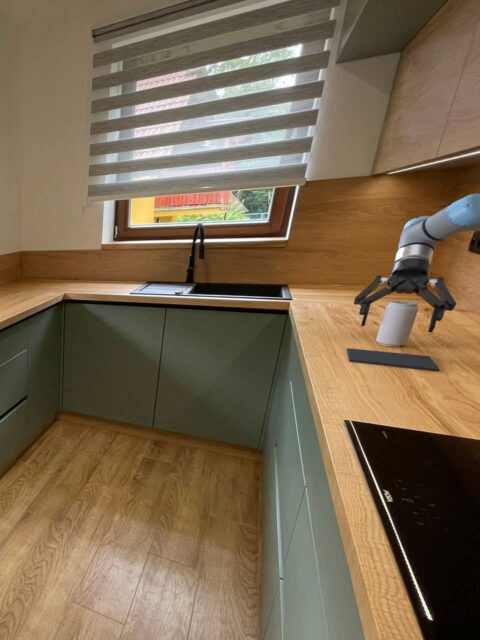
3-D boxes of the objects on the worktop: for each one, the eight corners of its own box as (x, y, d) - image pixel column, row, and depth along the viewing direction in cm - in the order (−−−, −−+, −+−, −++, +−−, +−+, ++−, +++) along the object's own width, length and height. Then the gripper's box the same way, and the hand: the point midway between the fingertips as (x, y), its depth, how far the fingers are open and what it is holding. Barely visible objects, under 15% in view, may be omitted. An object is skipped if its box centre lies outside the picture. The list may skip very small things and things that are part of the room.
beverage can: (400, 342, 122) (413, 300, 118) (410, 348, 117) (424, 304, 113) (371, 340, 125) (383, 299, 121) (380, 346, 119) (393, 303, 115)
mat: (428, 358, 108) (429, 356, 108) (439, 371, 100) (439, 369, 99) (346, 350, 118) (347, 348, 117) (349, 361, 109) (349, 359, 109)
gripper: (471, 275, 117) (458, 339, 112) (352, 272, 133) (336, 328, 128) (481, 257, 112) (468, 323, 107) (356, 255, 128) (339, 314, 123)
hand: (396, 326), depth 118 cm, fingers open, 13 cm apart
